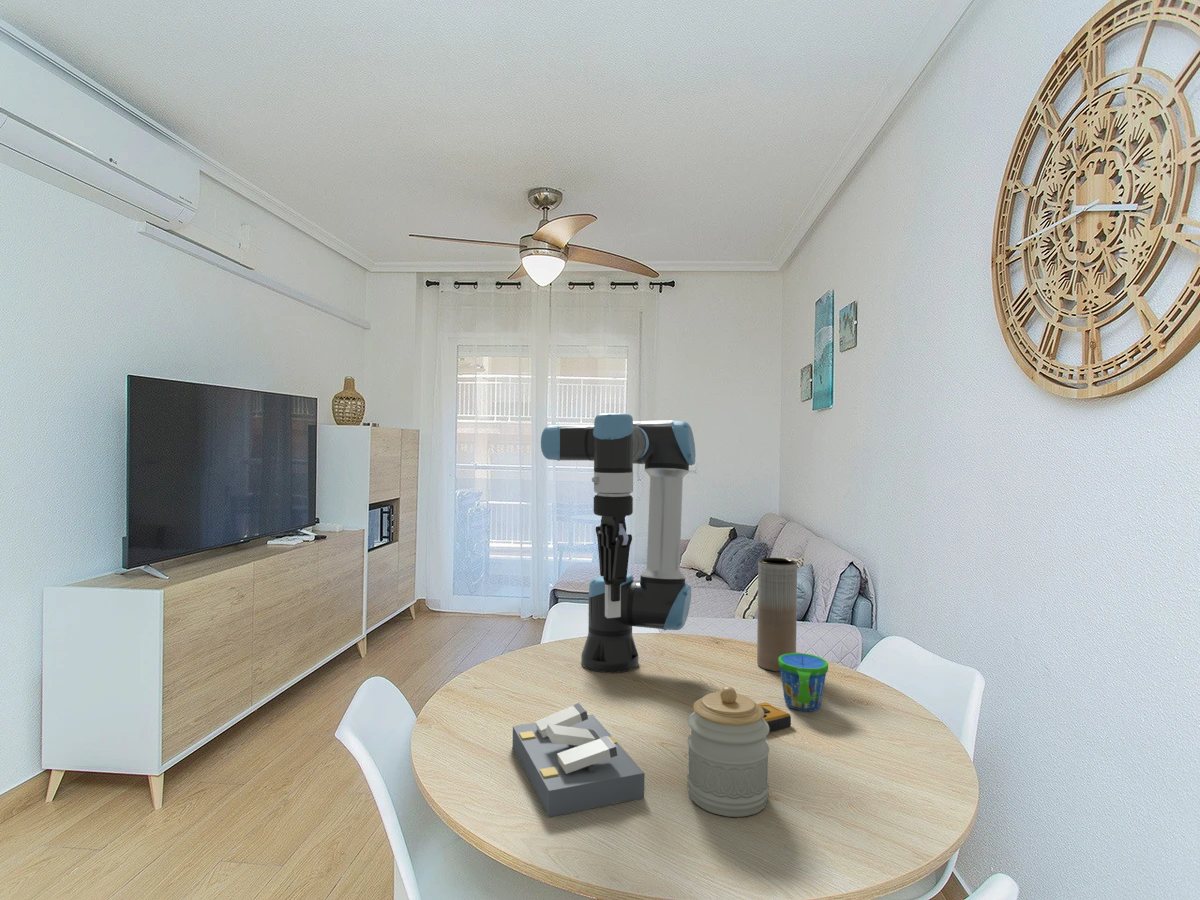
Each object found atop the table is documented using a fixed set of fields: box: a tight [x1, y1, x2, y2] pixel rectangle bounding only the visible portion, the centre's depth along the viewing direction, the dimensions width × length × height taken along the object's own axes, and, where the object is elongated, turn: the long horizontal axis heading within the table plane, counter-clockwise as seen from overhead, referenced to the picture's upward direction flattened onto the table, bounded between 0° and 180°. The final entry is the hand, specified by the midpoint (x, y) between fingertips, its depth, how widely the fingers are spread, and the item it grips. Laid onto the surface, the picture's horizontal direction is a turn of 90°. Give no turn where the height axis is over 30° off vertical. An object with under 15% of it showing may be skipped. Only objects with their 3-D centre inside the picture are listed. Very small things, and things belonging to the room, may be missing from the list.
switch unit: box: [512, 714, 646, 818], centre depth 109 cm, size 24×16×5 cm, turn 21°
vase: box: [756, 557, 798, 673], centre depth 165 cm, size 10×10×28 cm
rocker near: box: [557, 736, 618, 774], centre depth 102 cm, size 4×9×2 cm, turn 111°
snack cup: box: [778, 652, 829, 712], centre depth 139 cm, size 16×10×10 cm
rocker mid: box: [546, 724, 600, 746], centre depth 109 cm, size 4×9×2 cm, turn 111°
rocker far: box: [534, 702, 589, 738], centre depth 115 cm, size 4×9×2 cm, turn 111°
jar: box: [686, 686, 770, 818], centre depth 102 cm, size 13×13×18 cm
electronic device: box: [757, 701, 792, 734], centre depth 128 cm, size 8×16×3 cm, turn 118°
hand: (612, 616), depth 120 cm, fingers closed
